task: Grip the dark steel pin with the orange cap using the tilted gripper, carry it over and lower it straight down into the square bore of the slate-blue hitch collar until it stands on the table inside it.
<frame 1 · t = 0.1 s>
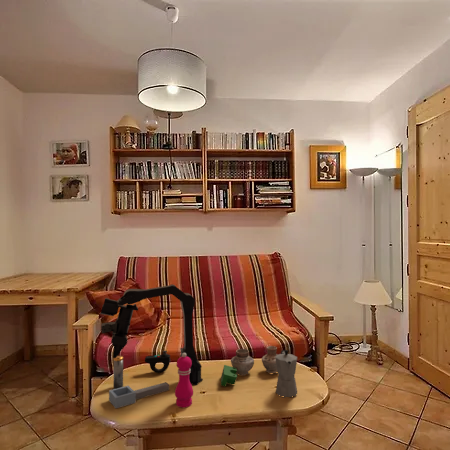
hand: (114, 354, 152), 15 cm above the table, tool pointing down, fingers open, 9 cm apart
pepper mill: (184, 404, 140), on the table
pottery: (256, 373, 171), on the table
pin: (118, 387, 155), on the table
hitch: (122, 401, 141), on the table
coffeepot: (285, 392, 150), on the table
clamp: (228, 383, 160), on the table
controller: (157, 373, 171), on the table
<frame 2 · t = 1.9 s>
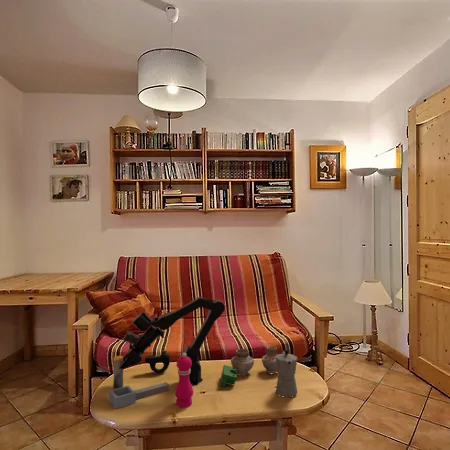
hand: (121, 364, 155), 10 cm above the table, tool tilted 45°, fingers open, 9 cm apart
nothing on the table moved.
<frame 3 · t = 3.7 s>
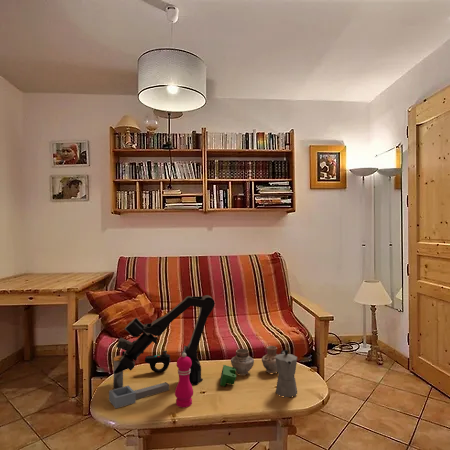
hand: (115, 371, 154), 7 cm above the table, tool tilted 45°, fingers closed on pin, 4 cm apart
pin: (118, 387, 155), on the table, touching gripper
everything else where it was.
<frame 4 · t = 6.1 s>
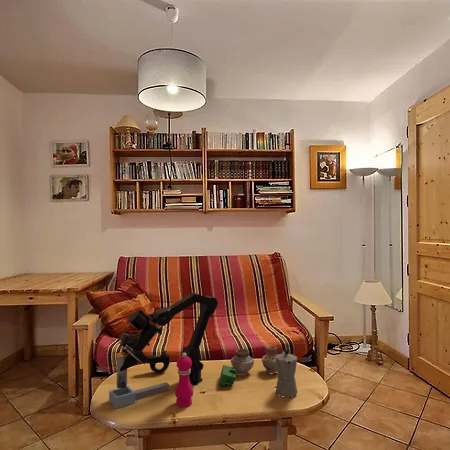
hand: (118, 369, 141), 13 cm above the table, tool tilted 45°, fingers closed on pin, 4 cm apart
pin: (121, 386, 142), point 6 cm above the table, touching gripper
everything else where it was.
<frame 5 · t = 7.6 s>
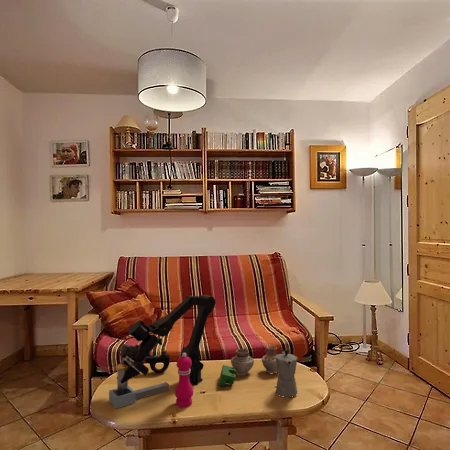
hand: (119, 380, 141), 9 cm above the table, tool tilted 45°, fingers closed on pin, 4 cm apart
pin: (122, 397, 141), point 1 cm above the table, touching gripper
everything else where it was.
when the fingers open (7 cm above the table, at t = 8.6 s): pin stays where it is, resting in hitch.
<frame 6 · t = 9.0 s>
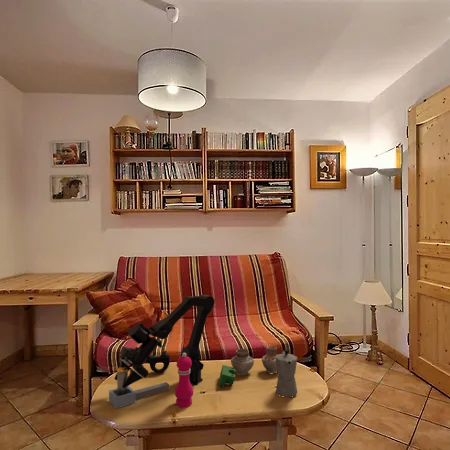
hand: (118, 383, 141), 8 cm above the table, tool tilted 45°, fingers open, 9 cm apart
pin: (122, 401, 141), resting in hitch
everything else where it was.
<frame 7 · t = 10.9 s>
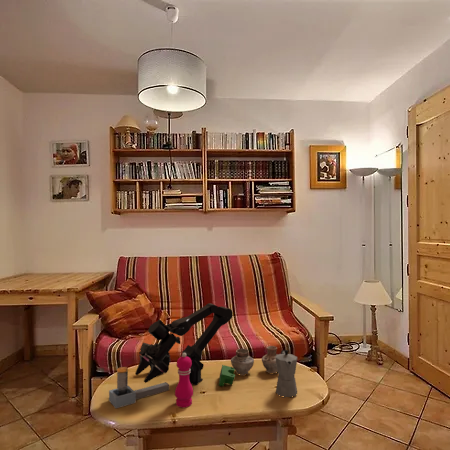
hand: (140, 378, 146), 7 cm above the table, tool tilted 45°, fingers open, 9 cm apart
nothing on the table moved.
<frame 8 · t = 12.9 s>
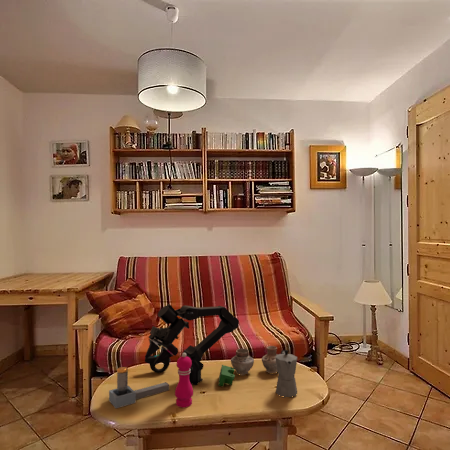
hand: (150, 361, 149), 14 cm above the table, tool tilted 45°, fingers open, 9 cm apart
at the end: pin 0.1 cm from the hitch (horizontally); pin resting in hitch; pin tilted 1° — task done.
